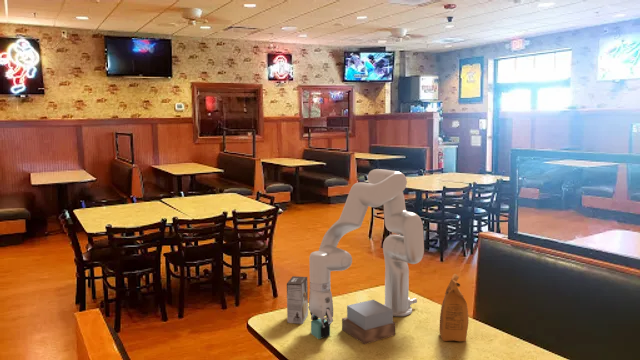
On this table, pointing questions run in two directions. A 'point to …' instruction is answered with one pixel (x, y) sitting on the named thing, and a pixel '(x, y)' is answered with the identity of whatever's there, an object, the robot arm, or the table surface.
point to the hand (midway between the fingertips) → (320, 332)
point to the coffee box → (297, 300)
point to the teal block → (317, 328)
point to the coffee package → (453, 313)
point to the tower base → (367, 331)
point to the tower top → (369, 314)
